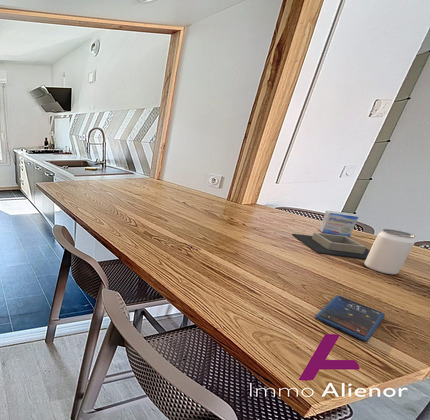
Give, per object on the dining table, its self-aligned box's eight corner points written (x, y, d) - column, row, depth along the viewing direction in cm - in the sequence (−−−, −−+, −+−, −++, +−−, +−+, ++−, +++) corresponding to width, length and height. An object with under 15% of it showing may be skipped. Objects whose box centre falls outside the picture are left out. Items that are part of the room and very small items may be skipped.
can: (401, 278, 69) (422, 239, 65) (365, 269, 73) (383, 233, 69) (394, 268, 74) (413, 232, 70) (361, 261, 78) (377, 226, 74)
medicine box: (321, 232, 99) (329, 212, 96) (318, 229, 103) (326, 209, 100) (349, 237, 95) (359, 216, 92) (345, 233, 98) (354, 213, 95)
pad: (351, 241, 91) (355, 234, 90) (389, 263, 77) (394, 254, 76) (291, 234, 97) (294, 227, 96) (316, 253, 83) (320, 244, 82)
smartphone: (315, 315, 54) (337, 294, 61) (313, 318, 54) (336, 296, 61) (368, 340, 47) (386, 313, 54) (366, 343, 48) (384, 316, 55)
